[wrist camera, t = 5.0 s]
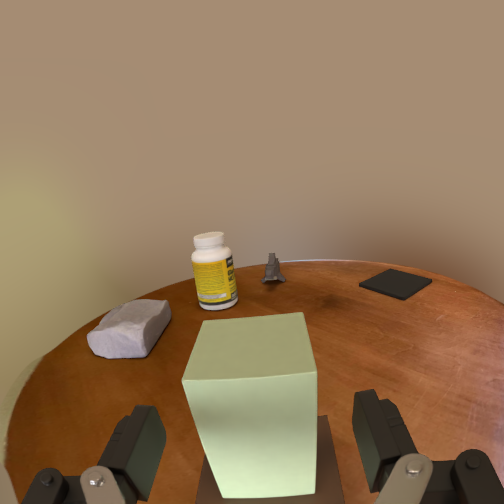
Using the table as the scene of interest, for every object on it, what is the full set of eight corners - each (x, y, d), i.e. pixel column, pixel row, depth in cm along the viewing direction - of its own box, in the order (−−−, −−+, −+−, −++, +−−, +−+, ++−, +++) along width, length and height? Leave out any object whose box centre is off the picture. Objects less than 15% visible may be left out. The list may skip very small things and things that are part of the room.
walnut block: (339, 535, 12) (346, 510, 11) (208, 541, 13) (192, 517, 12) (325, 448, 20) (327, 414, 19) (220, 455, 21) (210, 422, 20)
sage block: (315, 493, 13) (317, 371, 11) (222, 498, 13) (180, 380, 11) (307, 432, 18) (302, 311, 15) (230, 437, 18) (203, 320, 16)
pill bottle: (240, 307, 47) (230, 235, 45) (199, 314, 47) (186, 242, 44) (236, 293, 53) (227, 228, 51) (199, 298, 53) (188, 234, 50)
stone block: (91, 368, 36) (152, 358, 35) (75, 337, 35) (135, 323, 34) (126, 330, 48) (179, 317, 46) (114, 303, 47) (167, 288, 46)
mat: (432, 282, 46) (432, 279, 46) (403, 300, 42) (404, 297, 42) (390, 271, 54) (390, 268, 54) (358, 286, 50) (359, 283, 49)
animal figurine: (267, 276, 63) (265, 250, 63) (289, 275, 63) (287, 249, 62) (255, 289, 52) (253, 258, 51) (283, 287, 51) (280, 256, 50)
